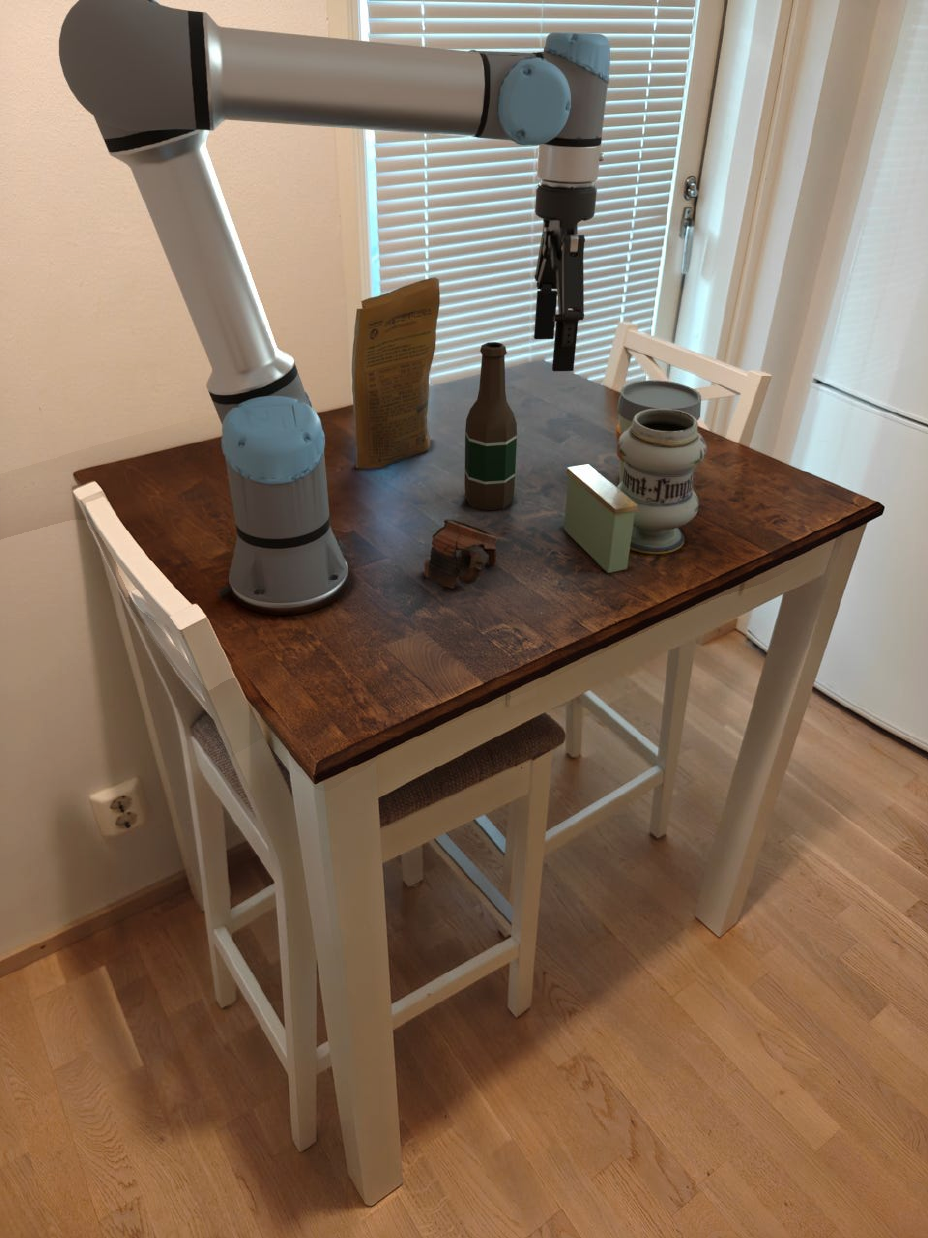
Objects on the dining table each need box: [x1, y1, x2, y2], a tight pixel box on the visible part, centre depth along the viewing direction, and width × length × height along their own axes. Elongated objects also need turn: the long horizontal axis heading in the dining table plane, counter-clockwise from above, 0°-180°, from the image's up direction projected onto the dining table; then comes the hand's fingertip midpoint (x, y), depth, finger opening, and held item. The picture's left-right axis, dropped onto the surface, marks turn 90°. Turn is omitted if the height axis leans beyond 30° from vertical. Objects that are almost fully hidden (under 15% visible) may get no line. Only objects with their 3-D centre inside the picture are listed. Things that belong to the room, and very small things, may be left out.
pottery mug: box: [423, 518, 497, 590], centre depth 117 cm, size 12×10×8 cm
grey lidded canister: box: [615, 379, 702, 484], centre depth 138 cm, size 13×13×15 cm
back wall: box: [563, 463, 638, 574], centre depth 122 cm, size 3×13×10 cm, turn 22°
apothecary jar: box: [616, 409, 708, 555], centre depth 123 cm, size 12×12×18 cm
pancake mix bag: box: [351, 276, 441, 470], centre depth 142 cm, size 7×19×28 cm, turn 134°
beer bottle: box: [463, 341, 518, 511], centre depth 130 cm, size 8×8×24 cm
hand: (552, 353), depth 121 cm, fingers open, 13 cm apart
